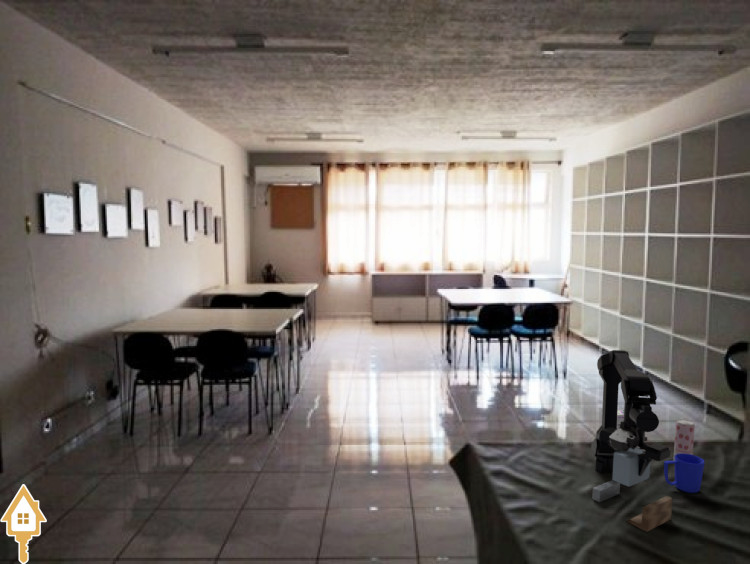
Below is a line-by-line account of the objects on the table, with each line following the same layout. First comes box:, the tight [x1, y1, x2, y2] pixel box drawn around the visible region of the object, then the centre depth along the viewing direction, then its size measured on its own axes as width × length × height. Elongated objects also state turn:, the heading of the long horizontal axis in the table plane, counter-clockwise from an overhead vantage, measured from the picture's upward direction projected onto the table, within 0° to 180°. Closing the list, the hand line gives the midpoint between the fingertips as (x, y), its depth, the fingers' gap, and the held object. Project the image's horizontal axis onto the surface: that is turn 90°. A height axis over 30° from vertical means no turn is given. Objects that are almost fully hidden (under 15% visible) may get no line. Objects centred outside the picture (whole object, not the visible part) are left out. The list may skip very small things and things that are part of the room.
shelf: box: [625, 495, 673, 533], centre depth 163 cm, size 12×28×6 cm, turn 34°
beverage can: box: [672, 418, 695, 461], centre depth 192 cm, size 6×6×15 cm
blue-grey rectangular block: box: [611, 448, 651, 487], centre depth 158 cm, size 10×5×8 cm, turn 123°
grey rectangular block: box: [591, 479, 621, 503], centre depth 165 cm, size 10×2×4 cm, turn 124°
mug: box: [663, 453, 705, 494], centre depth 173 cm, size 8×12×10 cm
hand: (631, 472), depth 158 cm, fingers closed on blue-grey rectangular block, 5 cm apart
